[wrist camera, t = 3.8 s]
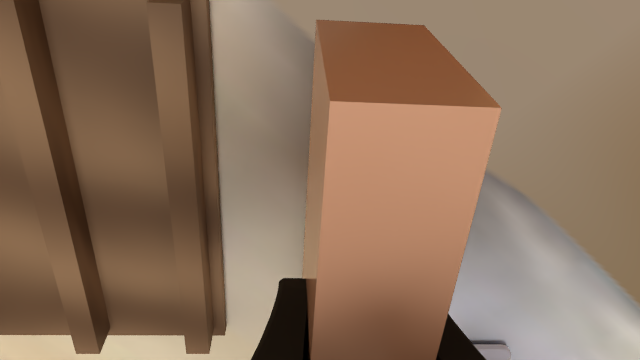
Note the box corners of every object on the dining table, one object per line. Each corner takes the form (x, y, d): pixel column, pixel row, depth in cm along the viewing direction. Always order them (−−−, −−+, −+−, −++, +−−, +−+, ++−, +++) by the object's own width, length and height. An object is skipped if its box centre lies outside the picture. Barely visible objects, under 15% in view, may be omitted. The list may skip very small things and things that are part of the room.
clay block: (361, 406, 19) (382, 563, 14) (294, 406, 18) (295, 565, 14) (424, 25, 11) (501, 108, 7) (316, 19, 11) (329, 100, 7)
